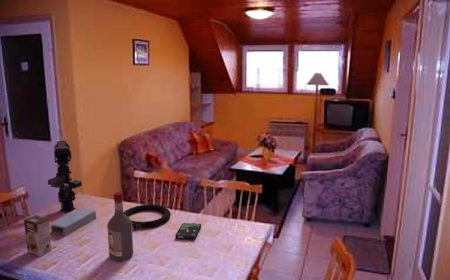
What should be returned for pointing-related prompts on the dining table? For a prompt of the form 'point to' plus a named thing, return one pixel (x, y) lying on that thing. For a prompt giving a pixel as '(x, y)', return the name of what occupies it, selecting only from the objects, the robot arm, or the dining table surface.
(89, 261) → the dining table surface
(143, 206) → the cable lock
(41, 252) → the coffee box
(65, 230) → the grey tray with bar
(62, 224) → the cover
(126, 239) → the liquor
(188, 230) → the disk drive
